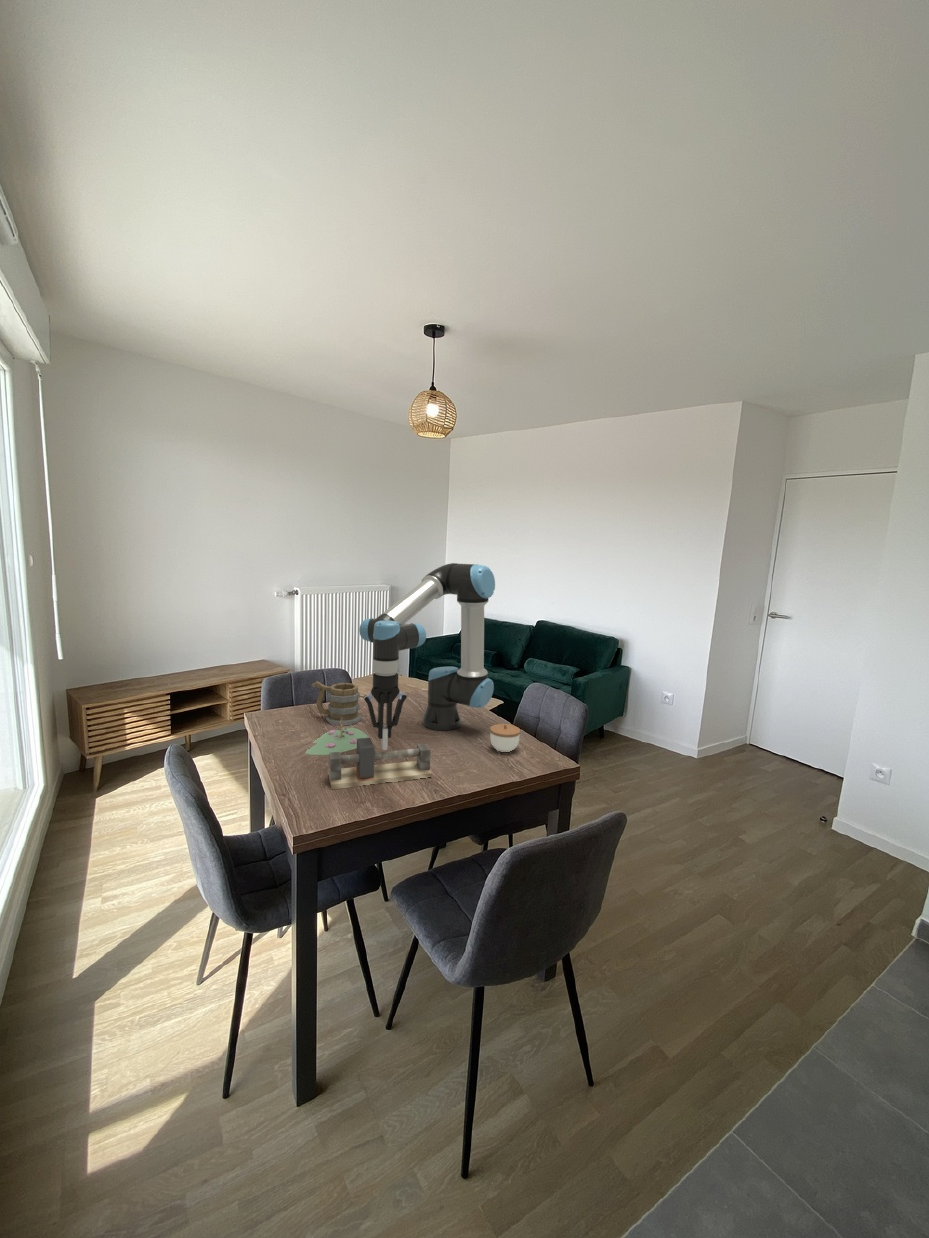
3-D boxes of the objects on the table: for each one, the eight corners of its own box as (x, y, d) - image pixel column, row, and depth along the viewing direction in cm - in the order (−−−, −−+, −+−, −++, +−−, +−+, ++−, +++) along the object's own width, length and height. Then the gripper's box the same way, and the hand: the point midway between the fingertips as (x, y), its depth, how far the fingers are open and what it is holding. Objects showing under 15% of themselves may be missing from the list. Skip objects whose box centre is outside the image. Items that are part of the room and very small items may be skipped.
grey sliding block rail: (423, 764, 165) (424, 740, 164) (431, 777, 156) (432, 753, 154) (328, 774, 155) (328, 749, 154) (331, 789, 145) (331, 763, 144)
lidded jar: (523, 747, 183) (524, 722, 181) (513, 758, 173) (514, 731, 172) (495, 741, 187) (496, 717, 186) (484, 751, 177) (485, 726, 176)
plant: (344, 762, 165) (344, 735, 164) (290, 752, 171) (289, 726, 170) (378, 736, 189) (379, 713, 188) (330, 728, 195) (330, 705, 193)
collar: (369, 765, 158) (370, 737, 156) (373, 776, 150) (374, 747, 149) (356, 767, 156) (356, 738, 155) (360, 778, 149) (360, 748, 148)
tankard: (365, 717, 207) (365, 681, 205) (351, 727, 195) (351, 689, 193) (320, 711, 212) (320, 676, 210) (304, 721, 200) (304, 684, 198)
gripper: (404, 668, 157) (402, 741, 160) (361, 670, 152) (360, 745, 156) (409, 674, 150) (407, 750, 153) (365, 676, 145) (364, 755, 149)
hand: (384, 747), depth 154 cm, fingers closed
